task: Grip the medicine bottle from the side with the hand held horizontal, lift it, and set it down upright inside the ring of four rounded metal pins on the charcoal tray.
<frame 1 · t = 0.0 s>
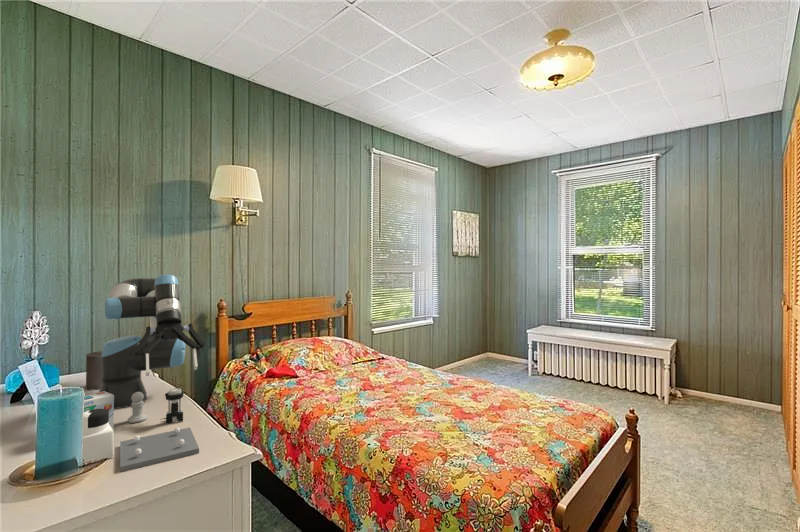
hand: (172, 371, 129), 15 cm above the table, tool tilted 35°, fingers open, 13 cm apart
pin tray: (158, 449, 107), on the table
medicine bottle: (94, 458, 102), on the table
light bulb box: (89, 434, 118), on the table
push button: (172, 422, 126), on the table
chess piece: (137, 421, 128), on the table
pillar candle: (100, 386, 165), on the table
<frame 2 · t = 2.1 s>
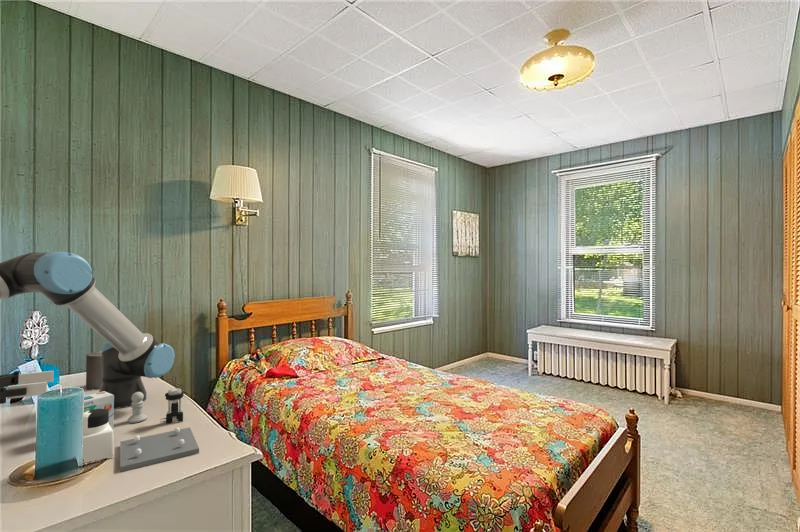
hand: (50, 381, 98), 21 cm above the table, tool horizontal, fingers open, 13 cm apart
nothing on the table moved.
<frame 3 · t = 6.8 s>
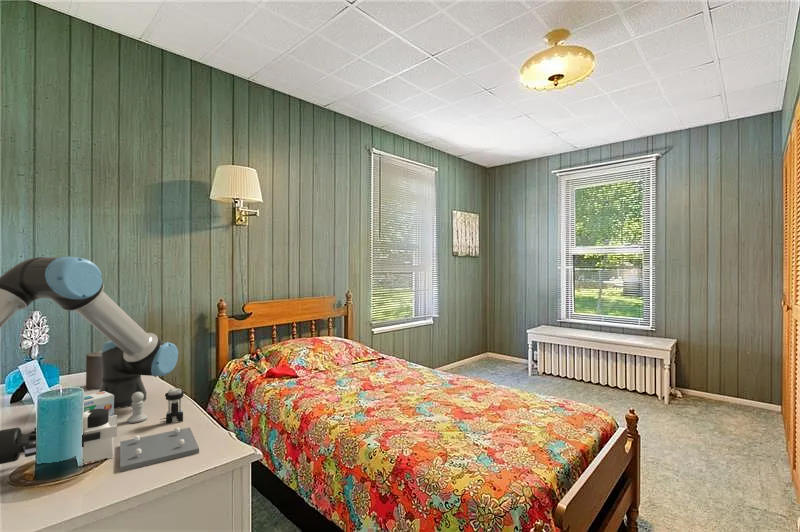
hand: (116, 425, 105), 7 cm above the table, tool horizontal, fingers closed on medicine bottle, 8 cm apart
medicine bottle: (93, 458, 102), on the table, touching gripper
everything else where it was.
when the fingers open (9 cm above the table, at t = 13.2 s): medicine bottle stays where it is, resting on pin tray.
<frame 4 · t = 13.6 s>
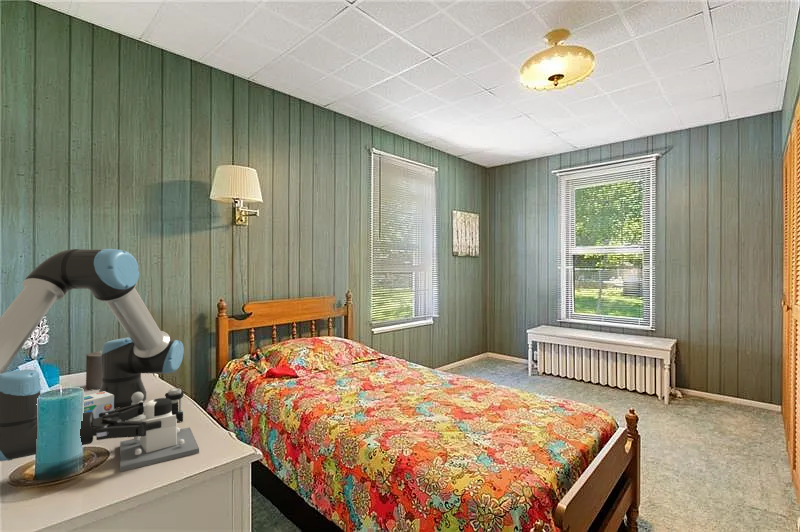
hand: (173, 412, 109), 9 cm above the table, tool horizontal, fingers open, 13 cm apart
medicine bottle: (158, 445, 107), point 1 cm above the table, touching pin tray
everything else where it was.
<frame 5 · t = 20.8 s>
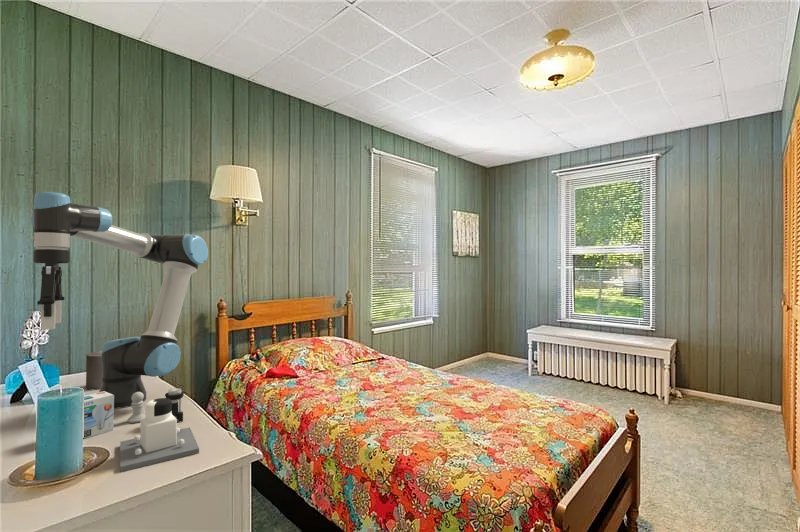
hand: (51, 326, 110), 33 cm above the table, tool pointing down, fingers open, 13 cm apart
nothing on the table moved.
at the end: medicine bottle 0.1 cm off-centre on the pin tray, point 1.0 cm above the pin tray's base; medicine bottle tilted 0°; the gripper is holding nothing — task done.
